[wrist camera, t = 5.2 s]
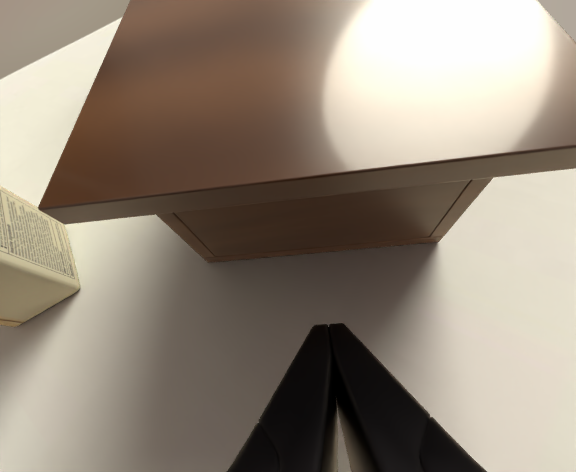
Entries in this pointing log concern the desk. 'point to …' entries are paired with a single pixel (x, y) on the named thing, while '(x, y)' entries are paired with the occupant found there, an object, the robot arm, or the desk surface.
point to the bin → (326, 222)
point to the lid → (314, 103)
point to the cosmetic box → (32, 261)
